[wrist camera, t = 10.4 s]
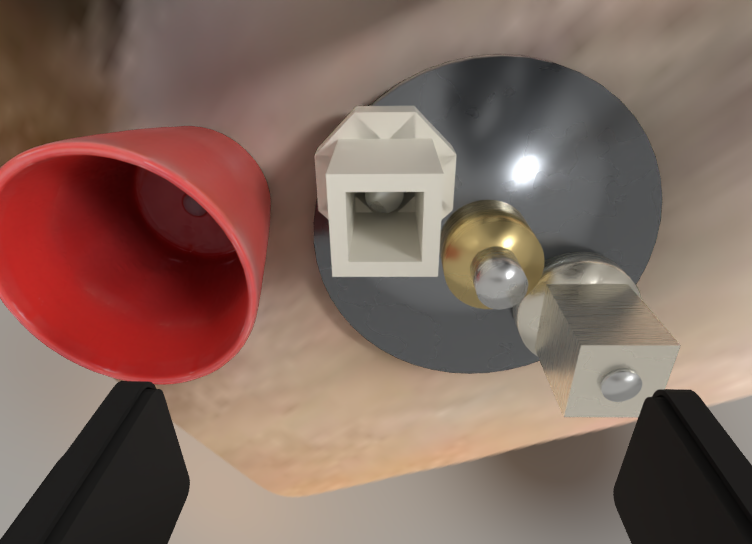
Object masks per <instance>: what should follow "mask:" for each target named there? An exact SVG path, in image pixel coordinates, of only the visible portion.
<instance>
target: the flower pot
mask: <svg viewBox="0 0 752 544" xmlns="http://www.w3.org/2000/svg"><path fill="white" fill-rule="evenodd" d="M270 207H271V203H270V192H269V188H268V185H267V182H266V179H265V177H264V175H263V173H262V171H261V169H260V167H259V166H258V164H257V163H256V161H255V160H254V159H253V158H252V157H251V155H250V154H249V153H248V152H247V151H246V150H245V149H244V148H243V147H241V146H240V145H239V144H238V143H237V142H235V141H234V140H232V139H231V138H229V137H227V136H225V135H223V134H222V133H219V132H217V131H214V130H211V129H207V128H203V127H195V126H179V127H161V128H147V129H137V130H128V131H120V132H113V133H105V134H98V135H91V136H84V137H78V138H72V139H66V140H61V141H57V142H52V143H48V144H44V145H41V146H37V147H34V148H31V149H29V150H27V151H24V152H22V153H20V154H18V155H17V156H15V157H14V158H12V159H10V160H9V161H8V162H7V163H5V164H4V165H3V166H2V167H1V168H0V299H1V300H2V302H3V303H4V304H5V306H6V307H7V308H8V309H9V310H10V312H11V313H12V314H13V315H14V316H15V317H16V318H17V320H18V321H19V322H20V323H21V324H22V325H23V326H24V327H25V328H26V329H27V330H28V331H29V332H30V333H31V334H33V335H34V336H35V337H36V338H37V339H38V340H40V341H41V342H42V343H44V344H45V345H46V346H48V347H49V348H51V349H52V350H54V351H55V352H57V353H58V354H60V355H61V356H63V357H65V358H66V359H68V360H70V361H72V362H74V363H76V364H78V365H80V366H82V367H85V368H87V369H89V370H92V371H94V372H97V373H100V374H103V375H106V376H109V377H113V378H116V379H120V380H125V381H148V382H152V383H153V384H164V385H165V384H176V383H182V382H187V381H191V380H194V379H198V378H200V377H203V376H206V375H208V374H210V373H212V372H214V371H216V370H218V369H219V368H221V367H222V366H223V365H225V364H226V363H227V362H229V361H230V360H231V359H232V358H233V357H234V356H235V355H236V354H237V353H238V352H239V351H240V349H241V348H242V347H243V345H244V344H245V342H246V341H247V339H248V337H249V335H250V333H251V331H252V329H253V326H254V323H255V319H256V315H257V311H258V306H259V300H260V294H261V287H262V280H263V273H264V266H265V259H266V252H267V245H268V237H269V226H270Z"/></svg>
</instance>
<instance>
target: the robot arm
mask: <svg viewBox="0 0 752 544" xmlns="http://www.w3.org/2000/svg"><path fill="white" fill-rule="evenodd" d="M189 485H190V480H189V475H188V472H187V469H186V465H185V462H184V459H183V455H182V452H181V449H180V446H179V442H178V439H177V436H176V433H175V429H174V426H173V423H172V420H171V416H170V413H169V410H168V407H167V403H166V400H165V397H164V394H163V392H162V390H161V389H156V388H155V385H154V384H153V383H152V382H148V381H120V382H118V383H117V384H116V385H115V386H114V387H113V389H112V390H111V391H110V393H109V394H108V396H107V397H106V398H105V400H104V401H103V402H102V404H101V405H100V407H99V408H98V409H97V411H96V412H95V413H94V415H93V416H92V417H91V419H90V420H89V421H88V423H87V424H86V426H85V427H84V428H83V430H82V431H81V433H80V434H79V435H78V437H77V438H76V439H75V441H74V442H73V443H72V445H71V446H70V448H69V449H68V450H67V452H66V453H65V454H64V455H63V456H62V457H61V459H60V460H59V461H58V462H57V463H56V465H55V466H54V467H53V469H52V470H51V471H50V473H49V474H48V475H47V477H46V478H45V480H44V481H43V482H42V484H41V485H40V486H39V488H38V489H37V490H36V492H35V493H34V494H33V496H32V497H31V499H30V500H29V501H28V503H27V504H26V505H25V507H24V508H23V509H22V511H21V512H20V513H19V515H18V516H17V518H16V519H15V520H14V522H13V523H12V524H11V526H10V527H9V529H8V530H7V531H6V533H5V534H4V535H3V537H2V538H1V539H0V544H168V541H169V539H170V536H171V534H172V532H173V529H174V527H175V525H176V522H177V520H178V517H179V515H180V513H181V510H182V508H183V506H184V503H185V501H186V498H187V496H188V492H189ZM613 495H614V501H615V506H616V508H617V511H618V513H619V515H620V518H621V520H622V522H623V525H624V527H625V529H626V532H627V534H628V536H629V538H630V541H631V543H632V544H752V465H751V464H750V463H749V461H748V460H747V459H746V458H745V456H744V455H743V453H742V452H741V451H740V450H739V448H738V447H737V446H736V444H735V443H734V442H733V440H732V439H731V438H730V436H729V435H728V434H727V432H726V431H725V430H724V429H723V427H722V426H721V425H720V423H719V422H718V421H717V419H716V418H715V417H714V416H713V414H712V413H711V411H710V410H709V409H708V408H707V406H706V405H705V404H704V402H703V401H702V400H701V398H700V397H699V396H698V395H697V394H696V393H695V392H694V391H692V390H670V389H659V390H657V391H655V392H654V394H653V396H652V397H647V398H646V399H645V401H644V403H643V406H642V409H641V411H640V414H639V417H638V420H637V423H636V426H635V429H634V432H633V434H632V437H631V440H630V443H629V446H628V449H627V452H626V455H625V458H624V460H623V463H622V466H621V469H620V472H619V475H618V478H617V481H616V483H615V486H614V494H613Z"/></svg>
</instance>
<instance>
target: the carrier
mask: <svg viewBox="0 0 752 544" xmlns="http://www.w3.org/2000/svg"><path fill="white" fill-rule="evenodd" d="M371 106H415V107H416V108H417V109H418V110H419V111H420V112H421V113H422V115H423V116H424V117H425V118H426V119H427V120H428V121H429V122H430V123H431V124H432V125H433V126H434V127H435V128H436V129H437V130H438V131H439V133H440V134H441V135H442V136H443V137H444V138H445V139H446V140H447V141H448V142H449V143H450V144H451V145H452V146H453V148H454V151H455V153H456V170H455V184H454V199H453V210H452V211H451V212H450V213H449V214H448V215H447V216H446V217H444V218H443V219H442V220H441V232H440V250H439V267H438V277H332V264H331V248H330V232H329V220H328V219H327V218H326V217H325V216H324V215H323V214H321V213H320V212H319V211H318V199H317V201H316V208H315V216H314V247H315V253H316V260H317V264H318V267H319V271H320V274H321V277H322V280H323V283H324V285H325V287H326V289H327V291H328V293H329V295H330V298H331V299H332V301H333V302H334V304H335V305H336V307H337V308H338V310H339V311H340V313H341V314H342V315H343V316H344V318H345V319H346V320H347V321H348V322H349V323H350V325H351V326H352V327H353V328H354V329H355V330H357V331H358V332H359V333H360V334H361V335H362V336H363V337H364V338H365V339H367V340H368V341H370V342H371V343H372V344H374V345H375V346H377V347H378V348H380V349H381V350H383V351H385V352H387V353H389V354H390V355H392V356H394V357H396V358H398V359H401V360H403V361H406V362H408V363H411V364H414V365H417V366H421V367H424V368H428V369H432V370H438V371H444V372H451V373H469V374H471V373H490V372H497V371H504V370H509V369H513V368H517V367H522V366H526V365H529V364H532V363H534V362H537V361H540V362H541V365H542V367H543V369H544V372H545V374H546V376H547V379H548V381H549V383H550V386H551V388H552V390H553V393H554V395H555V397H556V400H557V402H558V404H559V407H560V409H561V411H562V414H563V416H564V417H639V414H640V411H641V409H642V406H643V403H644V401H645V399H646V398H647V397H652V396H653V394H654V392H655V391H657V390H659V389H665V387H666V384H667V382H668V379H669V376H670V373H671V371H672V368H673V365H674V362H675V360H676V357H677V354H678V351H679V349H680V346H681V345H680V344H679V343H678V342H677V341H676V340H675V338H674V337H673V336H672V335H671V334H670V333H669V331H668V330H667V329H666V328H665V327H664V326H663V324H662V323H661V322H660V321H659V320H658V319H657V317H656V316H655V315H654V314H653V313H652V312H651V310H650V309H649V308H648V307H647V306H646V305H645V303H644V302H643V301H642V300H641V296H640V292H639V290H638V288H637V286H636V283H637V282H638V281H639V279H640V277H641V275H642V273H643V271H644V269H645V267H646V265H647V263H648V262H649V259H650V256H651V254H652V251H653V248H654V245H655V243H656V239H657V234H658V230H659V225H660V221H661V208H662V190H661V178H660V173H659V169H658V165H657V161H656V156H655V154H654V152H653V149H652V147H651V144H650V142H649V140H648V137H647V135H646V134H645V132H644V131H643V129H642V127H641V126H640V124H639V123H638V121H637V119H636V118H635V116H634V115H633V114H632V113H631V112H630V111H629V110H628V109H627V107H626V106H625V105H624V104H623V103H622V102H621V101H620V100H619V99H618V98H617V97H616V96H614V95H613V94H612V93H611V92H609V91H608V90H607V89H606V88H604V87H603V86H602V85H601V84H599V83H597V82H595V81H594V80H592V79H590V78H588V77H587V76H585V75H583V74H581V73H580V72H577V71H574V70H572V69H569V68H566V67H564V66H561V65H558V64H556V63H553V62H550V61H547V60H542V59H537V58H532V57H528V56H522V55H505V54H492V55H481V56H471V57H466V58H462V59H457V60H453V61H448V62H445V63H442V64H440V65H437V66H434V67H431V68H429V69H426V70H423V71H421V72H419V73H417V74H415V75H414V76H412V77H410V78H408V79H406V80H404V81H402V82H400V83H399V84H397V85H396V86H395V87H393V88H392V89H390V90H389V91H388V92H386V93H385V94H383V95H382V96H381V97H379V98H378V99H377V100H376V101H375V102H374V103H373V104H372V105H371ZM405 193H406V192H365V199H366V202H367V204H368V205H369V207H370V208H372V209H373V210H374V211H376V212H379V213H389V212H392V211H394V210H396V209H397V208H398V207H399V206H400V205H401V203H402V201H403V198H404V194H405Z"/></svg>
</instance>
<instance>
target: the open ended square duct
mask: <svg viewBox="0 0 752 544" xmlns="http://www.w3.org/2000/svg"><path fill="white" fill-rule="evenodd" d="M314 159H315V172H316V186H317V199H318V211H319V212H320V213H321V214H323V215H324V216H325V217H326V218H327V219H328V220H329V232H330V248H331V264H332V277H438V267H439V250H440V232H441V220H442V219H443V218H444V217H446V216H447V215H448V214H449V213H450V212H451V211H452V210H453V199H454V184H455V170H456V153H455V151H454V148H453V146H452V145H451V144H450V143H449V142H448V141H447V140H446V139H445V138H444V137H443V136H442V135H441V134H440V133H439V131H438V130H437V129H436V128H435V127H434V126H433V125H432V124H431V123H430V122H429V121H428V120H427V119H426V118H425V117H424V116H423V115H422V113H421V112H420V111H419V110H418V109H417V108H416V107H415V106H356V107H355V108H354V109H353V110H352V111H351V112H350V113H349V115H348V116H347V117H346V118H345V119H344V120H343V121H342V122H341V123H340V124H339V125H338V127H337V128H336V129H335V130H334V131H333V132H332V133H331V134H330V135H329V136H328V137H327V138H326V140H325V141H324V142H323V143H322V144H321V145H320V146H319V147H318V149H317V151H316V153H315V155H314ZM365 192H406V193H405V194H404V198H403V201H402V203H401V205H400V206H399V207H398V208H397V209H396V210H394V211H392V212H389V213H379V212H376V211H374V210H373V209H372V208H370V207H369V205H368V204H367V202H366V199H365Z"/></svg>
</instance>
